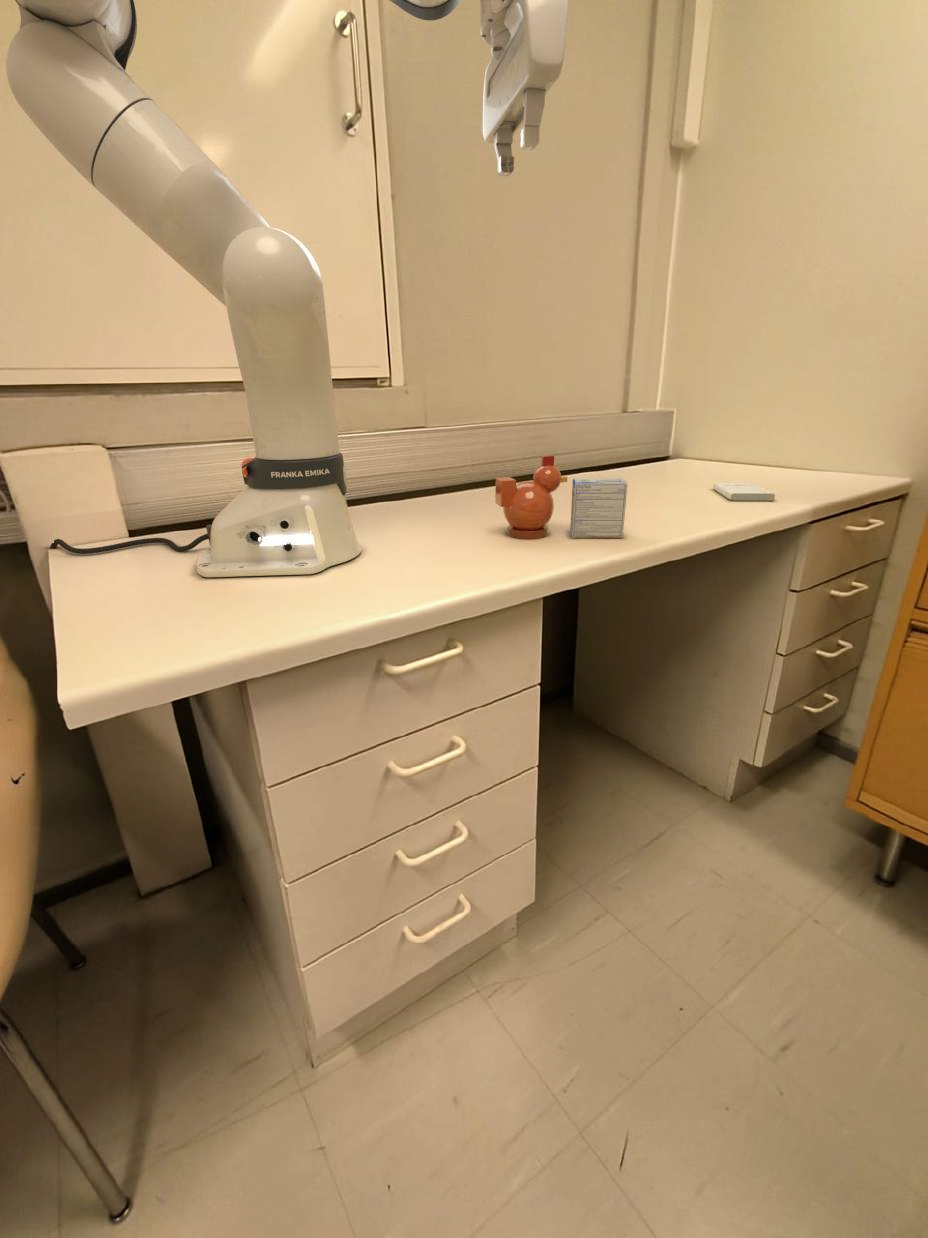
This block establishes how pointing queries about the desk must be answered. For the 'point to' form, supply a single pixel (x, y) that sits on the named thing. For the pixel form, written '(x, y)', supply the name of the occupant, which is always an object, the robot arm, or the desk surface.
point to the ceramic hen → (529, 500)
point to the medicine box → (598, 507)
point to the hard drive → (743, 492)
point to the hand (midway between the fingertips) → (516, 161)
